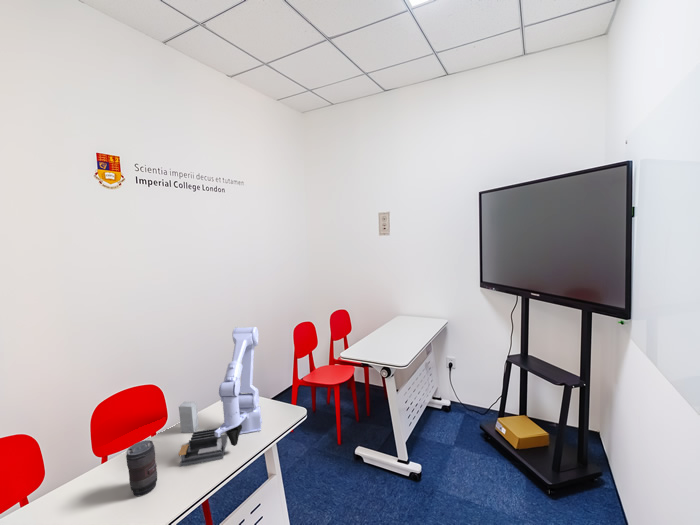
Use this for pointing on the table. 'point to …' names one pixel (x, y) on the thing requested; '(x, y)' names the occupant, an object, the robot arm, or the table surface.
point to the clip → (211, 448)
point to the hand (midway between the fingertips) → (234, 444)
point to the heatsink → (202, 447)
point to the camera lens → (142, 467)
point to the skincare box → (188, 417)
